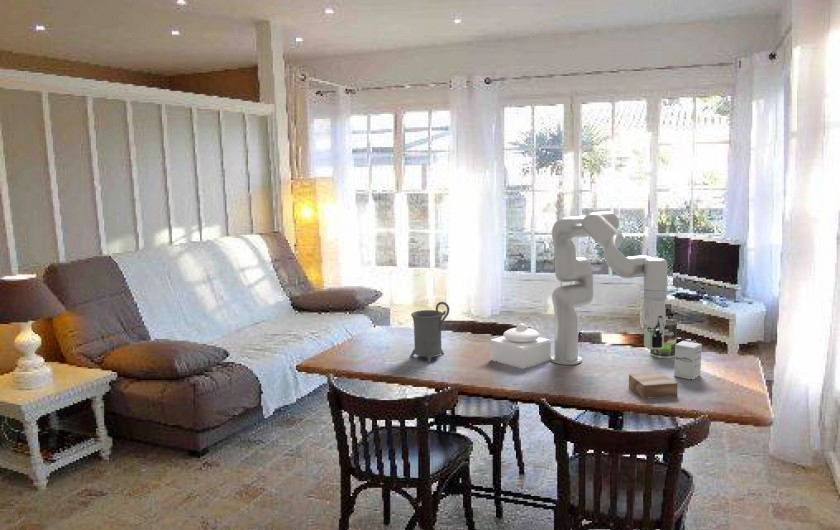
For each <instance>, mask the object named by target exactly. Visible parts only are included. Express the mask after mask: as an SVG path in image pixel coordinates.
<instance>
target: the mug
mask: <svg viewBox="0 0 840 530" xmlns="http://www.w3.org/2000/svg"><path fill="white" fill-rule="evenodd" d="M440 305H444V306H445V307H446V310H447V311H446V310H443V312H442V311H440V310H439V306H440ZM449 314H450V306H449V304H448V303H447V302H444V301H439V302H437V304H436V305H435V309H433V310H432V309H423V310H417V311H413V312H411V315H410V316H411V317H412V320H413V332H414V333H413V334H414V335H413V336H414V338H413V339H414V340H413V342H414V349H413V350H412V352H411V354H410V357H413V356H414V355H416V356H418V357H426V358H427V361H428V364H431V363H432V357H436V356H437V357H438V356H439V355H442V354H444V355H445V352H444V350H443V348H442V327H443V325H444V324H443V323H444V322H445V321H446V318H447V317H448V315H449Z"/></svg>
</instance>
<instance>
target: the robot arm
mask: <svg viewBox="0 0 840 530" xmlns="http://www.w3.org/2000/svg"><path fill="white" fill-rule="evenodd" d="M619 225H620V220H619V218H618V216H617V215H616V214H615V213H613V212H612V211H596V212H590V213H588V214H586V215H579V216H578V215H577V216H567V217H562V218H560V219H558V220H556V222H555V223H554V224H553V226H552V229H551V238H552V243H553V248H554V253H553V254H554V256H553V257H554V273H555V277H556V280H557V281H558V282H562V283H569V282H574V283H573V284H572V283H571V284H565V285H560V286H558V287H556V288H555V289H554V290H553V292H552V296H551V300H552V305H553V311H554V312H553V314H554V315H553V316H554V347H553V348H554V349H553V350H554V352H553V353H554V354H553V355H551V359H550V361H551V362H552V363H555V364H558V365H562V366H569V365H570V366H573V365H579V364H580V363H582V362H583V359H582V356H579V316H578V314H577V312H576V310H575V308H580V307H586V306H588V305H590V304H591V303H592V301H593V298H594V275H593V274H594V271H593V266H592V264H591V262H590V261H589V259H587V258H586V257H583V256H581V257H580V256H578V257H577V248H576V245H575V243H574V242H573V240H572V239H574V238H575V239H576V238H586V237H588V238H589V237H591V238H592V239H593V240H594V241H595V242H596V243H597V244H598V245H599V246H600V247H601V248H602V249H603V257H604V260H605V262H606V265H607V266H608V267H609V269H611V270H612V271H613V273H615V274H616V275H617V276H619V277H620V278H622V279H635V278H643V302H642V313H641V315H642V316H641V322H642V323H643V324H644V325H645V329H653V335H654V336H652V347H653V348H660V347H662V336H663V331H664V327H665V322H666V320H667V317H666V316H667V315H666V313H667V311H666V310H667V309H666V300H667V298H668V297H667V296H668V294H667V293H668V261H667V260H666V259H664V258H662V257H661V258H660V257H652V256H648V255H644V254H642V255H641V254H640V255H633V256H626V255H624V254H623V253H622V252H621V251H620V250H619V249H618V248H619V247H620V246H621V244H622V243H623V240H624V237H623V234H622V232H620V231H619V230H618V229H619ZM656 326H659V327H656ZM656 329H659V330H657V331H656Z"/></svg>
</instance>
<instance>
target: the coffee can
mask: <svg viewBox="0 0 840 530" xmlns="http://www.w3.org/2000/svg"><path fill="white" fill-rule="evenodd" d="M656 327H659V326H656ZM677 330H678V322H676V321H674V320H670V319H666V322H665V327H664V331H663V332H664V349H651V350H650V353H649V354H650V355H651V357H655V358H660V359H673V358H675V345H676V344H677V333H678V332H677Z"/></svg>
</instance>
